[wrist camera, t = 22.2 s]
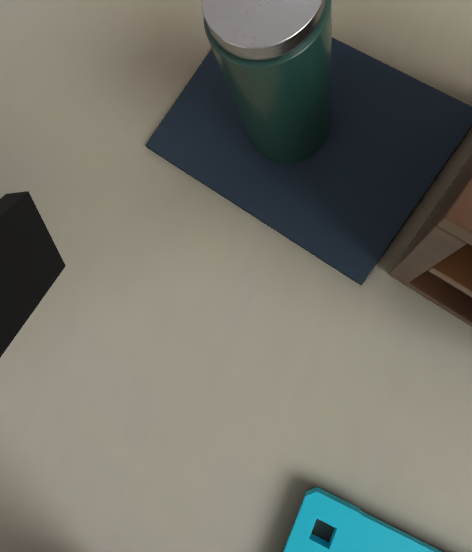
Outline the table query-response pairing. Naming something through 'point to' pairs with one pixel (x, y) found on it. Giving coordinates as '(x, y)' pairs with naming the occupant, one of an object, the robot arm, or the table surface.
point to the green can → (276, 70)
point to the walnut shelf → (444, 251)
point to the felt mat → (324, 157)
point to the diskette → (346, 529)
